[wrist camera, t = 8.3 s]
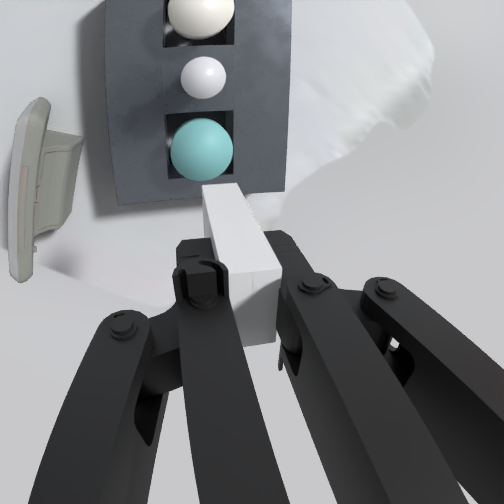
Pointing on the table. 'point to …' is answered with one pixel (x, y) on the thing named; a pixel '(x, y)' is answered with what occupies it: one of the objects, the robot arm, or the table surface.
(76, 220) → the table surface
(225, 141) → the knob outer
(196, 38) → the knob inner
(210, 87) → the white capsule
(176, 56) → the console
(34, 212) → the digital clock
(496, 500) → the robot arm
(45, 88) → the table surface
